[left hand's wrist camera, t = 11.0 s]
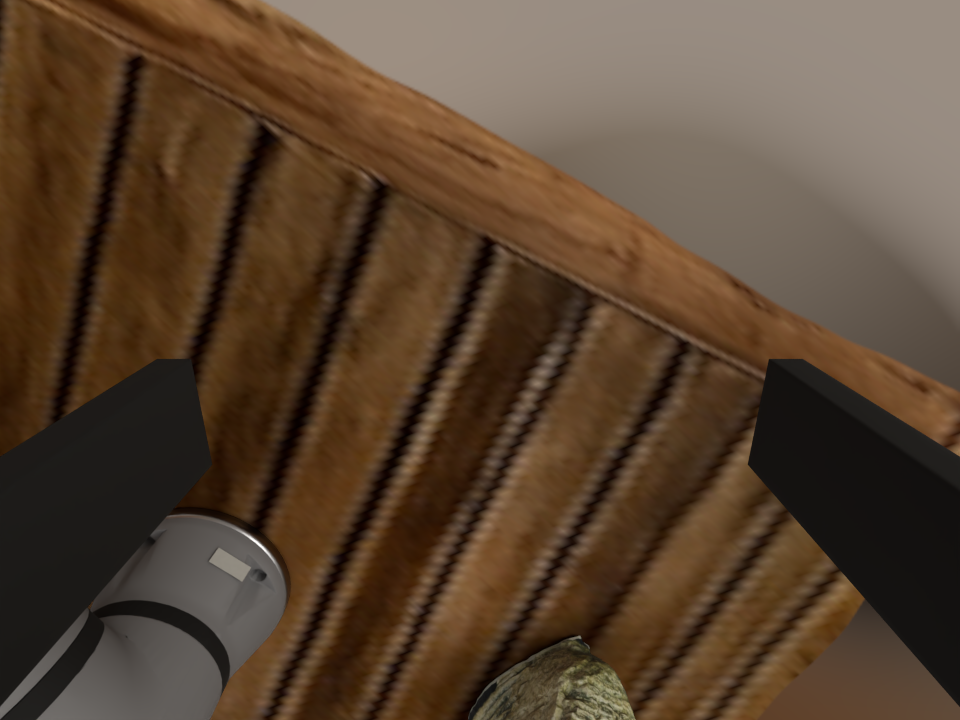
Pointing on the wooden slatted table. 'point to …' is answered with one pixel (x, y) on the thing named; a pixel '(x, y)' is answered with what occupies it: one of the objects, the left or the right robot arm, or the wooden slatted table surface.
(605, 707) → the fossil
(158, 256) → the wooden slatted table surface
